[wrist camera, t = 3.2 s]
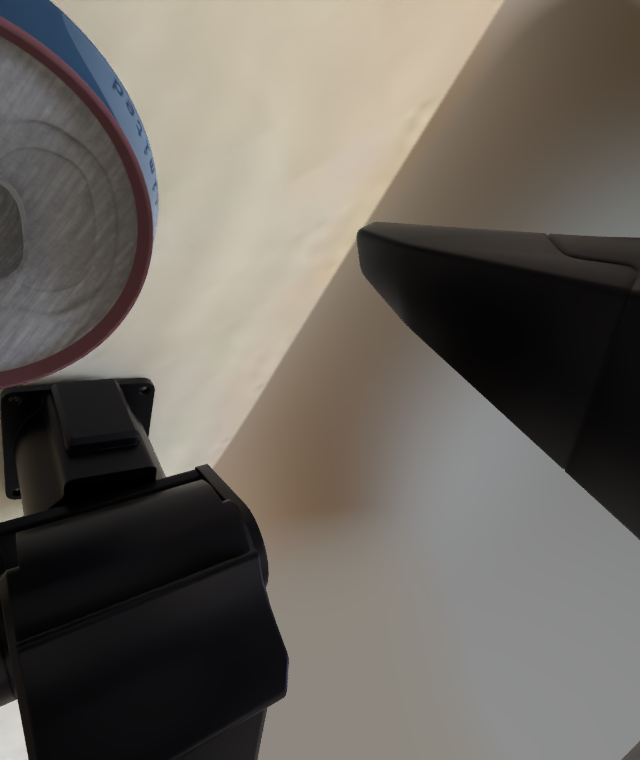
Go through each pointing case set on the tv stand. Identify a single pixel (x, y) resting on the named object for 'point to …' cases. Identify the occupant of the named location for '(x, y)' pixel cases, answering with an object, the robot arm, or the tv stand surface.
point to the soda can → (66, 194)
